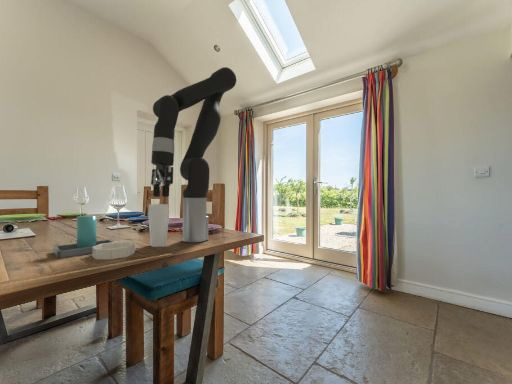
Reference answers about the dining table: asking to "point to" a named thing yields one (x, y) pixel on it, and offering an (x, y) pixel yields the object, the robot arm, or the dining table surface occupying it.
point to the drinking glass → (158, 224)
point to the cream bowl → (113, 250)
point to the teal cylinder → (86, 231)
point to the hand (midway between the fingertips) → (160, 196)
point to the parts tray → (74, 249)
